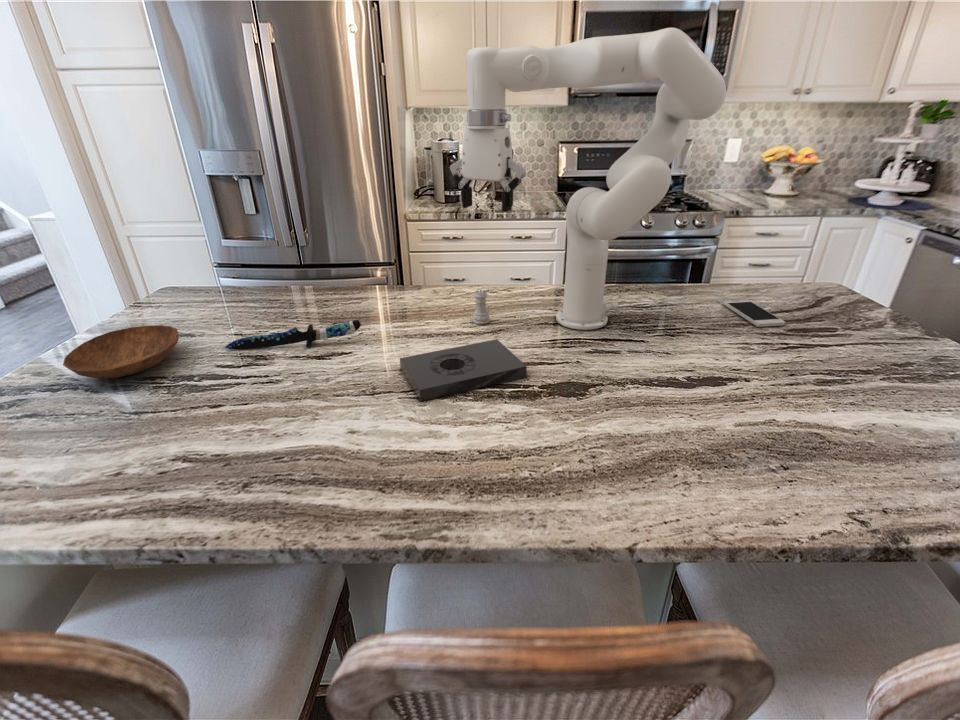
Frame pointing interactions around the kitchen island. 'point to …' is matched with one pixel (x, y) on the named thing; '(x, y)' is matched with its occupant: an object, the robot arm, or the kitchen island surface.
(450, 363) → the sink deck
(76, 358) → the bowl
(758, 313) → the smartphone
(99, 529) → the kitchen island surface
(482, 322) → the rook chess piece
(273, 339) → the knife
